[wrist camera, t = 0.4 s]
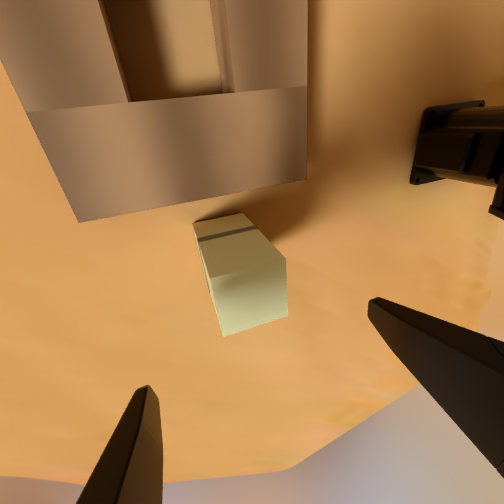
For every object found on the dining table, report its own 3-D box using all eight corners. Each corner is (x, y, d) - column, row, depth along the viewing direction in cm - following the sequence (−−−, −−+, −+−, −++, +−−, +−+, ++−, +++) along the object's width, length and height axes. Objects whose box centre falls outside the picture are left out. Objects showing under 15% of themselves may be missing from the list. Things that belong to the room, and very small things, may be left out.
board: (276, -180, 11) (309, -268, 9) (287, 172, 19) (306, 179, 17) (-109, -249, 8) (-229, -417, 6) (91, 207, 16) (78, 222, 13)
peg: (242, 212, 19) (286, 257, 13) (248, 256, 21) (288, 315, 15) (191, 223, 19) (209, 278, 12) (202, 267, 20) (222, 337, 14)
